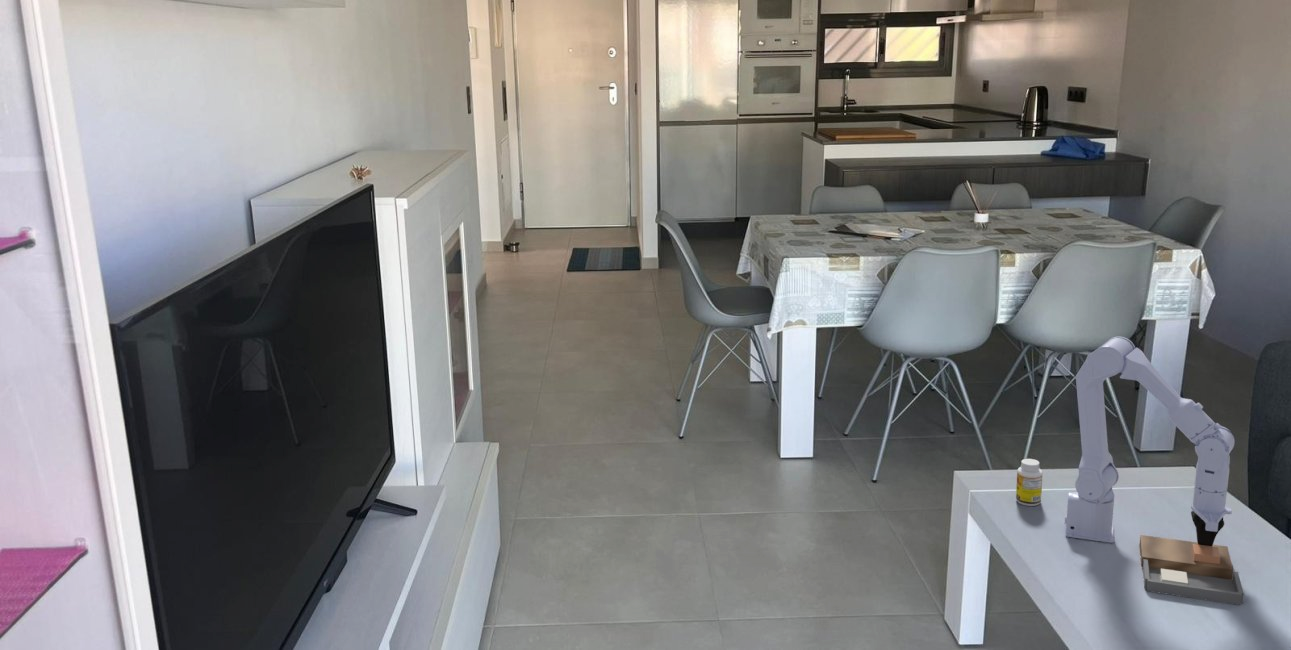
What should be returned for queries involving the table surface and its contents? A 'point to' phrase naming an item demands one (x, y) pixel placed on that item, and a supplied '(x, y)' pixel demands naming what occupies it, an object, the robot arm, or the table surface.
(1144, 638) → the table surface
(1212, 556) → the tile terracotta
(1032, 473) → the supplement bottle
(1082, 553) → the table surface
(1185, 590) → the box
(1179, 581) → the tile cream
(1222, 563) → the plate
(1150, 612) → the table surface
